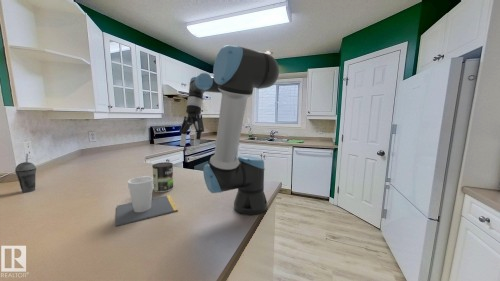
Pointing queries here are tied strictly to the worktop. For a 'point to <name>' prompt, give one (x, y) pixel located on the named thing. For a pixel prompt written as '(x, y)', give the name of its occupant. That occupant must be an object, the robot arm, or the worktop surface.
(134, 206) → the foam cup
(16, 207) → the worktop surface
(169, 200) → the mat
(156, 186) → the coffee can
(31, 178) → the beverage cup
